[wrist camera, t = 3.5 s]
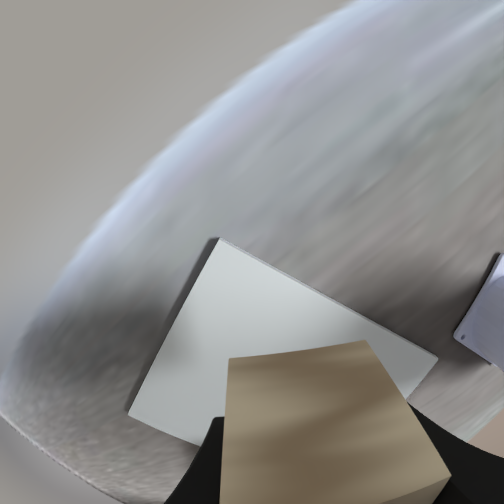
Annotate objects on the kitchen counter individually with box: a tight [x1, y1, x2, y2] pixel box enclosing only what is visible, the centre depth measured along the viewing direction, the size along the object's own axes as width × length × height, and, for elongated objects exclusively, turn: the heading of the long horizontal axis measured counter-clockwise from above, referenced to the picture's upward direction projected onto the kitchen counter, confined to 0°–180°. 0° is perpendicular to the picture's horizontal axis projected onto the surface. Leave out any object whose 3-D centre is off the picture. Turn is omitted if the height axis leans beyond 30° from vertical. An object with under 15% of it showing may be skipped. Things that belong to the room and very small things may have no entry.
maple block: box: [220, 340, 451, 504], centre depth 7 cm, size 5×5×6 cm
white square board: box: [128, 237, 438, 447], centre depth 20 cm, size 19×18×1 cm
